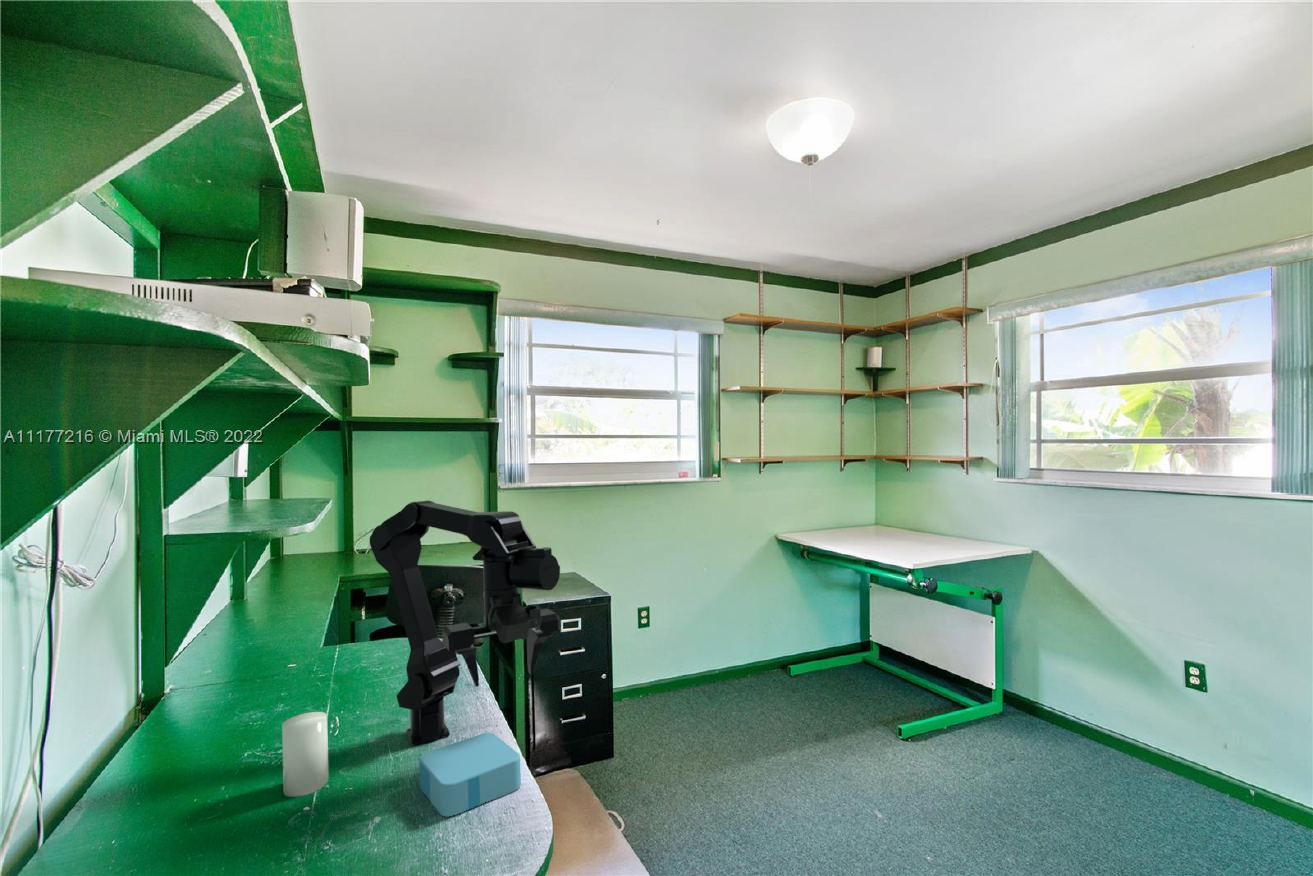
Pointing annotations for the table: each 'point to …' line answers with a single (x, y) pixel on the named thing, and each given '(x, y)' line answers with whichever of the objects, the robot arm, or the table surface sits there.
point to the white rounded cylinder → (305, 754)
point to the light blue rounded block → (469, 773)
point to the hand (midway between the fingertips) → (504, 679)
